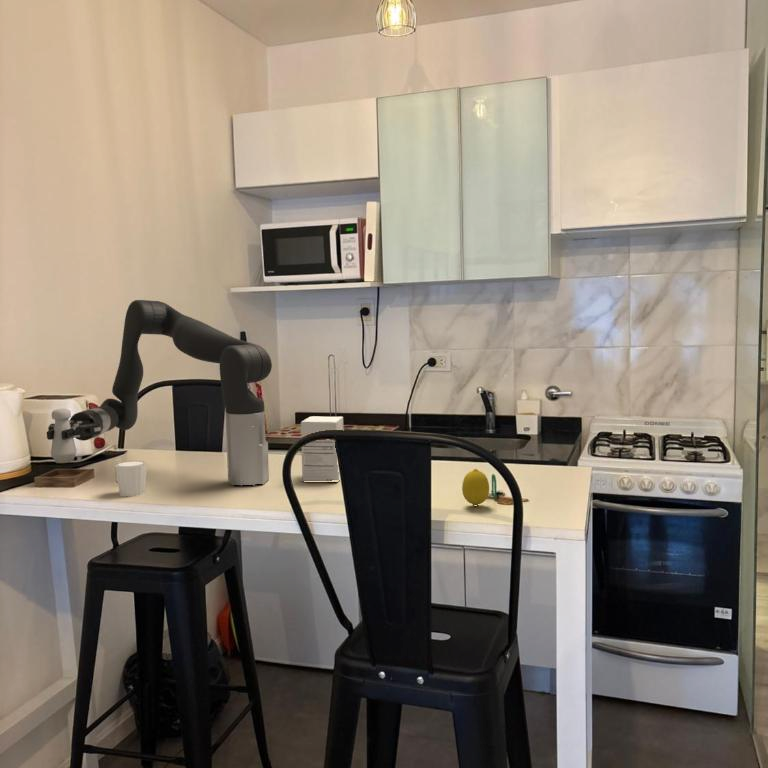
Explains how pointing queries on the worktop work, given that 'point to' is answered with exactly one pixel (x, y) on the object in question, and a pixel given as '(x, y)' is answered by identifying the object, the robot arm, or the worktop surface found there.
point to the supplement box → (320, 450)
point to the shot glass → (131, 477)
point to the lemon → (475, 487)
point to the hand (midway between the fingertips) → (56, 435)
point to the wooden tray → (63, 477)
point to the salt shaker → (61, 448)
